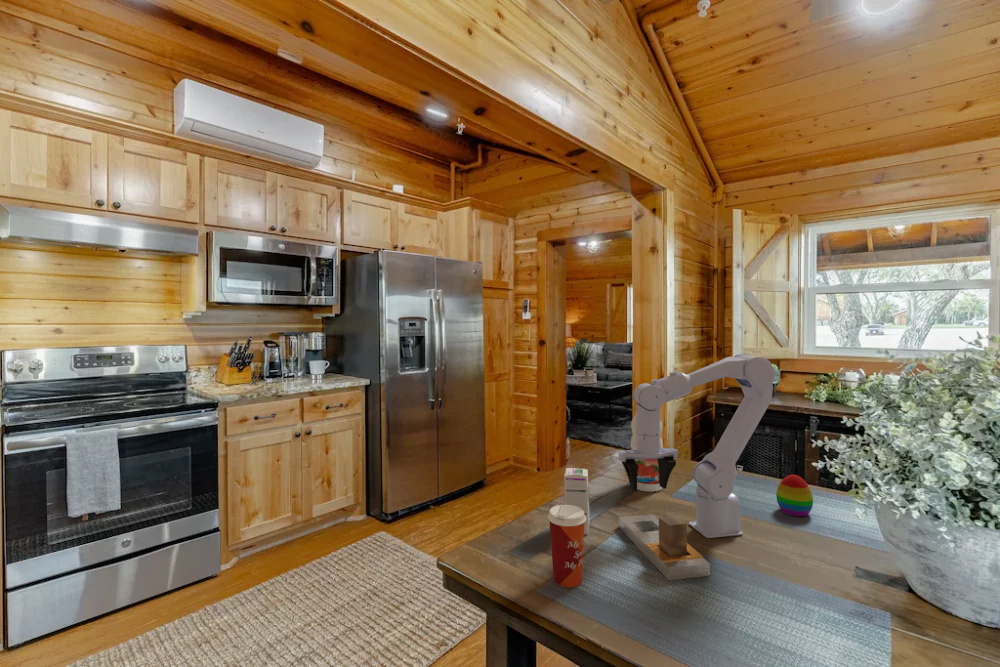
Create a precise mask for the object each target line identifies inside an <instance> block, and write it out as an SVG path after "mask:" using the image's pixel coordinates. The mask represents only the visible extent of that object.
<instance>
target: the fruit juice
mask: <svg viewBox="0 0 1000 667" xmlns="http://www.w3.org/2000/svg"><path fill="white" fill-rule="evenodd" d="M630 429H631V431H632V436H631V438H630V450H632V449H636V413H635V414H634V416H633V418H632V420H631V423H630ZM662 431H663V423H662V420H661V419H660V448H664V444H663V443H664V442H663V439H662ZM635 462H636V464H637V465H639V468H638V473H637V490H638V491H641V492H647V493H652V492H653V493H654V492H655V491H656V492H659V491H662V490H663V488H662V487H661V486H660V485H659V467H658V460H657V459H643V460H635Z"/></svg>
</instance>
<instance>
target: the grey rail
mask: <svg viewBox="0 0 1000 667" xmlns="http://www.w3.org/2000/svg"><path fill="white" fill-rule="evenodd" d="M618 528H619V529H621V530H620V531H622V532H623V533H624V534H625V535H626V536H627V537H628V538H629V540H631V542H632V543H634V545H635V546H636V547H637V548H638V549H639V551H641V552H642V553H643V555H644V556H645V557H646V558H647V559H648V560H649V561H650V562H651V563H652V564H653V565H654V567H655V568H656V569H657V568H658V569H659V570H658V571H659V572H660V571H661V572H662V573H661V572H660V573H661V574H662V575H663V576H664V577H665V579H667V581H674V580H683V579H684V580H685V579H693V578H702V577H710V576H711V563H710V562H709V561H708V560H707V559H705V558H704V556H703V555H702V554H701V553H700V552H698V550H696V549H695V548H694V547H693V546H691V545H690V544H689V543H688V542H687V556H677V557H668V556H667V555H666V554H665V553H663V552H662V551H661V550H660V549H659V517H656V515H654V514H653V513H650V514H649V513H648V514H638V515H629V516H618ZM709 575H710V576H709Z"/></svg>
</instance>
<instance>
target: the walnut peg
mask: <svg viewBox="0 0 1000 667" xmlns="http://www.w3.org/2000/svg"><path fill="white" fill-rule="evenodd" d="M658 519H659V549H660V550H661V551H662V552H663V553H665V554H666V555H667V556H668V557H677V556H687V543H688V539H687V538H688V537H687V536H688V535H687V534H688V529H687V527H688V526H687V525H688V523H687V522H685V521H684V520H683V519H681V518H680V517H678V516H676V515H669V516H661V517H658Z"/></svg>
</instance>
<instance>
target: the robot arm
mask: <svg viewBox="0 0 1000 667" xmlns="http://www.w3.org/2000/svg"><path fill="white" fill-rule="evenodd" d="M776 376H777V373H776V370H775V368H774V366H773V364H772V363H771V361H770V360H769V359H767V358H765V357H763V356H752V355H748V354H745V353H738V354H736V355H734V356H727V357H726V358H722V359H721V360H717V361H716V362H713V363H711V364H708V365H707V366H704V367H702V368H699V369H697V370H695V371H692V372H690V373H687V374H686V373H684V372H682V371H678V372H676V371H675V370H674V371H670V372H669V375H668V376H664V377H662V378H660V379H655V378H653V379H651V383H646V382H644V383H641V384H639V385H637V387H635V389H634V392H633V393H632V398H633V401H634V402H635V403H636V404H635V410H636V411H635V414H636V449H632V450H631V449H628V450H623V451H618V461H620V462H621V464H622V467H623V468H624V471H625V473H626V476H627V479H628V482H629V487H630V488H629V489H631V490H633V492H636V491H637V473H638V468H639V465H637V464H636V462H635V460H643V459H657V460H658V467H659V485H660V486H661V487H662V490H663V489H667V486H668V482H669V479H670V477H671V474H672V471H673V469H674V468H675V467H676V465H677V460H675V459H678V458H679V454H678V453H679V451H678V450H677V449H676V448H674V447H673V448H668V447H667V448H666V447H665V448H664V447H663V448H660V420H661V407H662V406H663V405H664V404H666V403H669V402H671V401H674V400H677V399H679V398H682V397H684V396H688V395H690V394H691V392H692V390H693V388H694V387H697V386H701V385H704V384H707V383H710V382H712V381H716V380H719V379H722V378H732V379H734V380H735V381H736V382H737V383H738V384H739V386H740V388H741V390H742V393H743V395H744V396H743V399H742V400H741V402H740V404H739V405H738V407H737V409H736V411H735V412H734V414H733V416H732V417H731V420H730V421H729V423H728V424H727V426H726V428H725V429H724V432H723V434H722V435H721V437H720V439H719V441H718V442H717V443H716V446H715V448H714V449H713V450H712V451H711V452H709V453H707V454H705V455H704V457H703V458H702V460H701V461H699V462H698V463H696V464H695V465H694V467H693V468H692V478H693V480H694V482H696V485H697V487H696V489H695V492H696V493H695V494H696V495H695V496H696V497H695V499H696V500H695V501H696V502H695V503H696V504H695V505H696V506H695V507H696V508H695V509H696V511H695V514H696V515H695V518H696V519H695V521H694V520H693V521H688V525H690V527H692V528H693V529H694V530H696V531H697V532H698V533H700V534H701V535H702V536H703V537H705V538H707V539H712V538H714V539H715V538H720V537H721V538H724V537H734V536H743V534H744V532H743V531H742V530H741V529H742V528H741V525H742V522H741V517H742V514H741V511H742V509H741V503H740V501H739V499H738V498H739V497H737V495H736V494H734V493H733V491H734V482H735V479H736V477H737V467H736V463H737V461H738V460H739V458H740V456H741V454H742V452H743V451H744V449H745V447H746V446H747V444H748V443H749V440H750V439H751V437H752V435H753V434H754V432H755V430H756V429H757V427H758V425H759V423H760V421H761V419H763V418H762V417H763V416H764V415H765V413H766V411H767V409H768V407H769V405H770V404H771V402H772V400H773V389H774V386H773V385H774V379H775V377H776Z"/></svg>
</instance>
